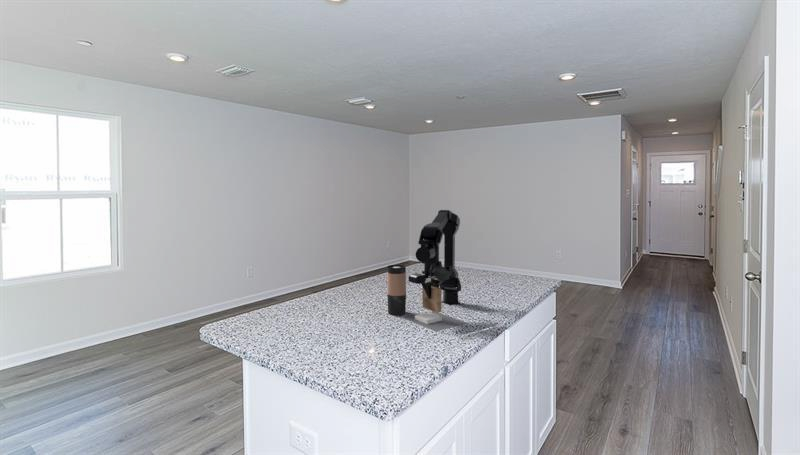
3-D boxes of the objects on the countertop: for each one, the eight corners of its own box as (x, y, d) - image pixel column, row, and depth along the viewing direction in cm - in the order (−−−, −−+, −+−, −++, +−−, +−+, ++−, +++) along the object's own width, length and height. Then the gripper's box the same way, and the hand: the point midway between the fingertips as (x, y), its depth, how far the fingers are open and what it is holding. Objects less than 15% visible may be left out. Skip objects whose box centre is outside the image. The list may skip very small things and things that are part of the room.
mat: (403, 319, 168) (402, 318, 168) (433, 312, 178) (433, 311, 178) (436, 332, 152) (436, 331, 152) (467, 324, 162) (468, 323, 162)
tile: (429, 315, 171) (414, 319, 166) (429, 312, 171) (414, 315, 166) (441, 320, 165) (427, 324, 160) (441, 316, 165) (427, 320, 160)
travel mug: (409, 312, 177) (408, 265, 175) (401, 317, 170) (401, 268, 168) (392, 310, 180) (392, 264, 178) (384, 315, 173) (383, 267, 172)
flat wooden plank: (422, 307, 169) (422, 285, 168) (426, 306, 170) (426, 284, 170) (437, 312, 162) (437, 289, 161) (441, 311, 163) (441, 288, 162)
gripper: (426, 263, 152) (426, 306, 154) (463, 258, 163) (463, 298, 165) (407, 259, 161) (407, 300, 163) (444, 255, 172) (444, 292, 174)
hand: (431, 297), depth 166 cm, fingers closed on flat wooden plank, 2 cm apart
